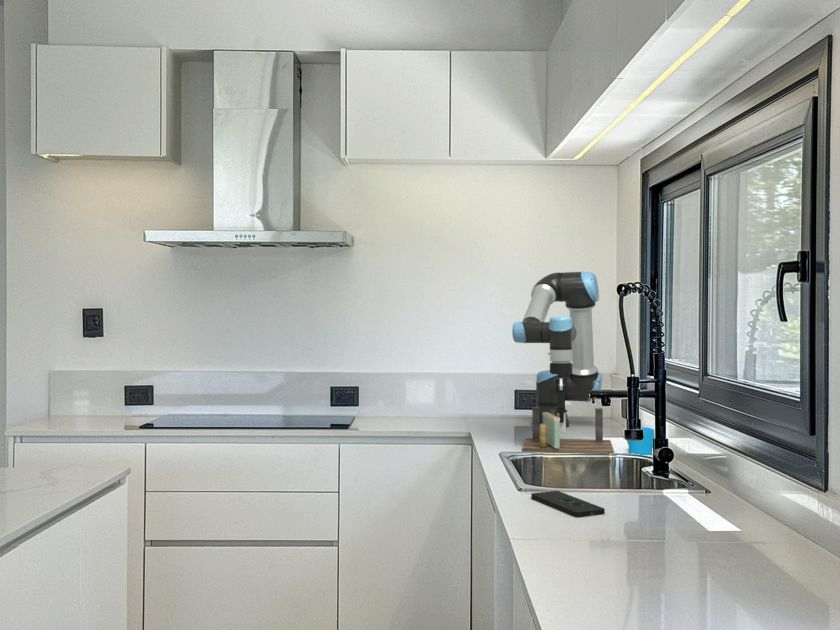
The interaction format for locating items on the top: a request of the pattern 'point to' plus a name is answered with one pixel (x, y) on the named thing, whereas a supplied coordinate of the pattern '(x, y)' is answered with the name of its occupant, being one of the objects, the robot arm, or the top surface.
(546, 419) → the bar
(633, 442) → the mug
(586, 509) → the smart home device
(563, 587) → the top surface
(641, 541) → the top surface
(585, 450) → the gate frame
